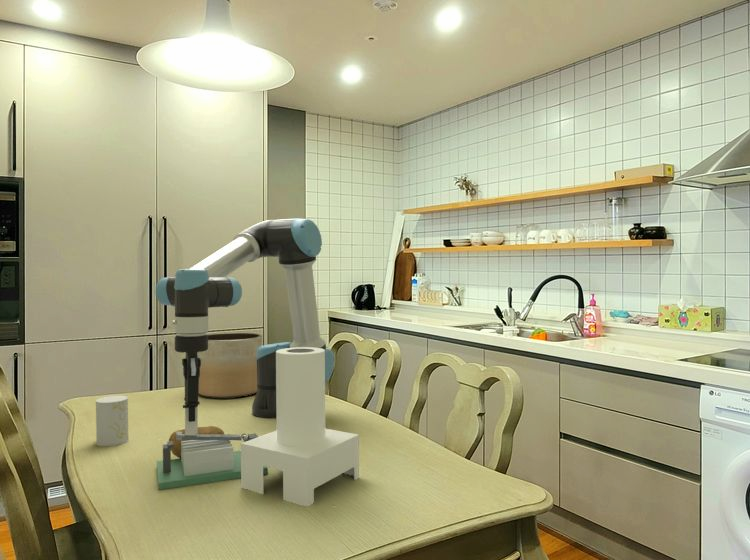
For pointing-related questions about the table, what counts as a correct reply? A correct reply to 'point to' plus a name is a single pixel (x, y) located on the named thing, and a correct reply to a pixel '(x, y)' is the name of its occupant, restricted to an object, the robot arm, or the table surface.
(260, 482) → the paper towel holder
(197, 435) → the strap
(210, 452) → the heatsink board
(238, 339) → the planter
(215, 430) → the potato
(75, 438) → the table surface
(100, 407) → the white patterned canister
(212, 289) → the robot arm
